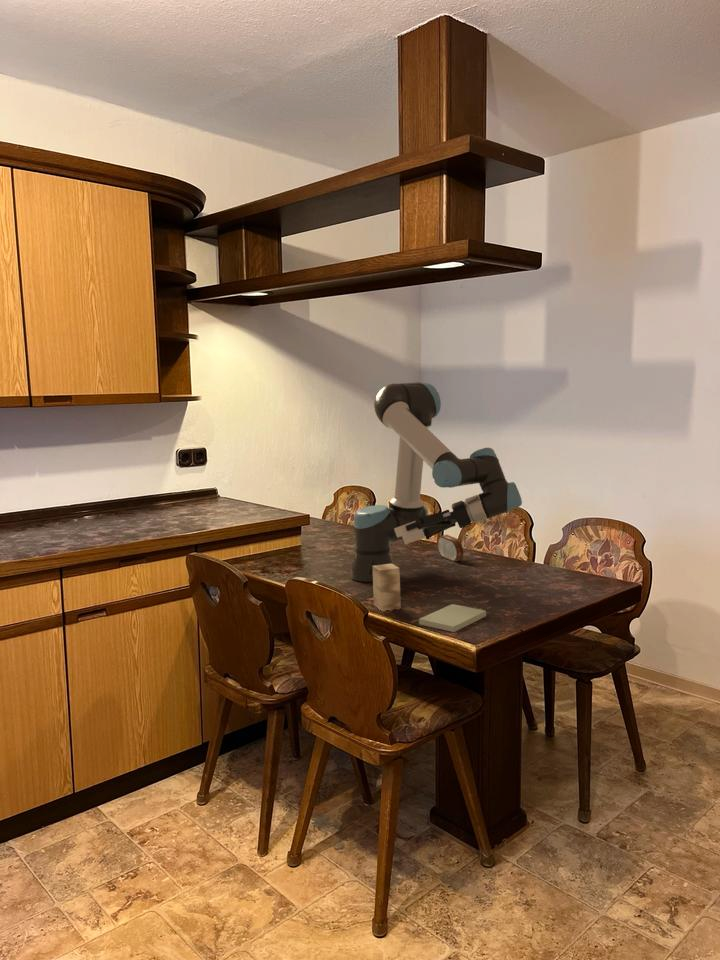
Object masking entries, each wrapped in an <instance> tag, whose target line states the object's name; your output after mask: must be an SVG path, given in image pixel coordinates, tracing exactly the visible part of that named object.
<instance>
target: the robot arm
mask: <svg viewBox="0 0 720 960" xmlns="http://www.w3.org/2000/svg"><path fill="white" fill-rule="evenodd" d="M441 401H442V400H441V396H440V394H439V392H438V391H437V388H436V387H435V386H434V385H432V384H430V383H428V382H419V381H418V382H403V383H401V382H400V383H397V382H396V383H390V384H387V385H385V386H383V387H382V388H381V389H380V390H379V391H378V392H377V394H376V396H375V399H374V404H373V407H374V412H375V414H376V415H375V416H376V417H377V419H378V420H379V422H380V423H382V425H384V427H386V428H388V429H392V430H393V431H394V432H395V433H396V434H397V435H398V436H399V438H398V441H399V443H398V455H397V462H396V463H397V464H396V465H397V466H396V476H395V477H396V478H395V488H394V489H395V490H394V496H393V497H392V498H390V500H389V505H388V506H387V505H383V504H375V505H369V506H364V507H362V508H359V509H358V510H356V512H355V513H354V516H353V517H354V518H353V519H354V520H353V527H354V547H355V548H354V549H355V550H354V553H355V556H354V559H353V561H352V566H351V570H350V578H351V579H352V580H354V581H356V582H357V581H358V582H361V583H373V568H372V566H375V565H383V564H391V563H392V564H394V562H393V561H394V560H393V558H392V555H391V544H392V543H397V542H403V543H404V545H405V546H406V545H409V544H411V543H414V542H416V541H419V540H422V539H425V538H426V540H429V539H430V538H432V537H434V536H435V535H438V534H441V533H443V532H444V531H446V530H448V529H451V528H454V527H456V526H458V527H459V528H460V529H464V528H466V527H469V526H471V525H472V523H473V524H476V523H479V522H480V523H484V522H485V520H487V519H491V518H493V517H497V516H498V515H502V514H506V513H509V512H510V511H512V510H515V509H517V508H519V507H521V506H522V504H523V501H522V497H521V494H520V492H519V488H518V487H517V485H516V483H515V482H513V481H512V482H508V480H507V479H506V476H505V473H504V471H503V468H502V466H501V464H500V459H499V458H498V456H497V454H496V453H495V450H494V449H493V448H491V447H483V448H480V449H477V450H475V451H474V452H472V453H471V454H470V455H469V457H468V458H459V457H458V456H457V455H456V454H454V453H453V451H452V450H451V449H450V448H448V447H447V446H446V445H445V444H444V443H443V442H442V441H441V440H440V439H439V438H438V437H437V436H436V435H435V434H434V433H433V432H432V431H430V430H429V428H430V427H431V426H432V423H433V422H432V421H433V419H434V418H435V417H437V416H438V414H439V413H440V412H441V406H442V402H441ZM424 462H425V464H426V465H428V466H429V467H430V468H431V469H432V472H431V473H432V474H431V475H432V476H431V477H432V479H433V480H434V483H435V485H437V486H438V487H440V488H450V489H451V488H456V487H463V486H467V485H476V484H479V486H480V489H481V491H482V492H481V493H479V494H476V495H472V496H470V497H467V498H465V500H464V501H463V500H459V501H457V502H454V503H452V504H451V509H452V511H450V510H449V509H446V510H443V511H440V512H436V513H432V514H428V513H429V511H428V509H427V507H426V506H425V505H424V504H425V503H424V501H423V500H422V499H421V488H422V481H423V480H422V479H423V469H424ZM456 523H457V524H456Z"/></svg>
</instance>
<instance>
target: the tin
mask: <svg viewBox="0 0 720 960" xmlns="http://www.w3.org/2000/svg"><path fill="white" fill-rule="evenodd" d="M437 549H438V553H439V554H440V556H441V557H442V558H444V559H447V560H448V561H451V562H454V563H456V562H461V561H462V560H463V557H464V549H463V545H462V543H461V541H460V540H459V538H456V537H453V536H451V535H450V534H444V535H440V536H439V537H438V539H437Z"/></svg>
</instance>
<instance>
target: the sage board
mask: <svg viewBox="0 0 720 960" xmlns="http://www.w3.org/2000/svg"><path fill="white" fill-rule="evenodd" d="M486 617H487V610H485V609H480V608H475V607H469V606H464V605H461V604H460V605H458V604H454V603H452V604H449V605H447V606H444V607H443V608H440V609H437V610H436V611H433V612H431V613H429V614H426V615H423V617H419V618H418V625H420V626H424V627H429V628H433V629H438V630H443V631H446V632H451V633H455V632H457V631H459V630H461V629H463V628H465V627H467V626H469V625H471V624H473V623H476V622H477V621H479V620H481V619H483V618H486Z"/></svg>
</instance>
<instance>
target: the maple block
mask: <svg viewBox="0 0 720 960" xmlns="http://www.w3.org/2000/svg"><path fill="white" fill-rule="evenodd" d="M372 568H373V582H372V591H373V595H372V596H373V606H374V605H375V606H376V607H377V608H378V609H379V610H378V609H377V608H376V607H375V606H374V607H375V608H376V609H377V610H378V611H380V610H381V611H382V612H387V611H386V610H389V611H394V610H393V609H396V610H400V608H401V606H402V605H401V603H402V602H401V575H400V574H401V573H400V567H398V566H397V565H395V564H394V563H393V564H392V563H391V564H383V565H375V566H372ZM401 609H402V608H401ZM381 611H380V612H381Z"/></svg>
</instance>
